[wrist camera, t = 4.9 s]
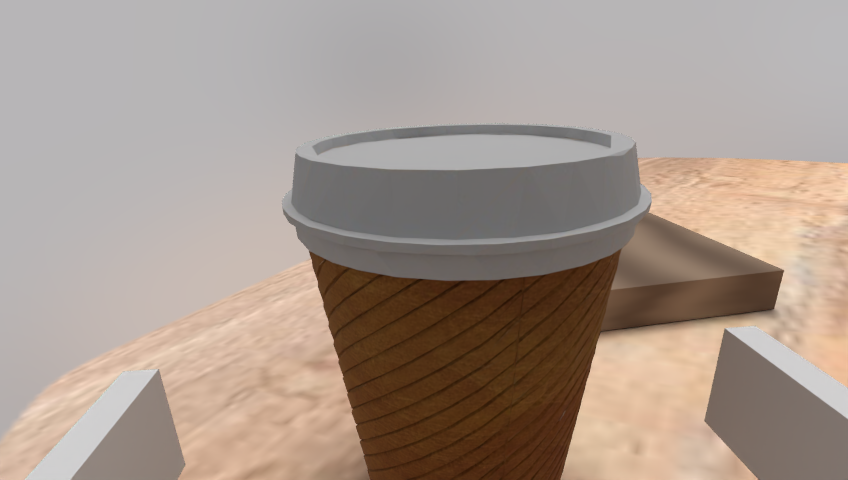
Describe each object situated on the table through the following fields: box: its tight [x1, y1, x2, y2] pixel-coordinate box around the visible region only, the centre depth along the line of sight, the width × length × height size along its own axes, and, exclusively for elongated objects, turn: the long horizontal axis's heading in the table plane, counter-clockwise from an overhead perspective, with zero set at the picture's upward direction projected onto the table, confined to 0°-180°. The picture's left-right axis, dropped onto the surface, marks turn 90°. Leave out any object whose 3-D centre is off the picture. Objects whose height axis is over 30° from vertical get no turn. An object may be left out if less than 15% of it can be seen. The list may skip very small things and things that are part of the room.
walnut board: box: [601, 212, 784, 331], centre depth 32 cm, size 16×16×2 cm
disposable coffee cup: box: [282, 123, 652, 480], centre depth 14 cm, size 10×10×12 cm
